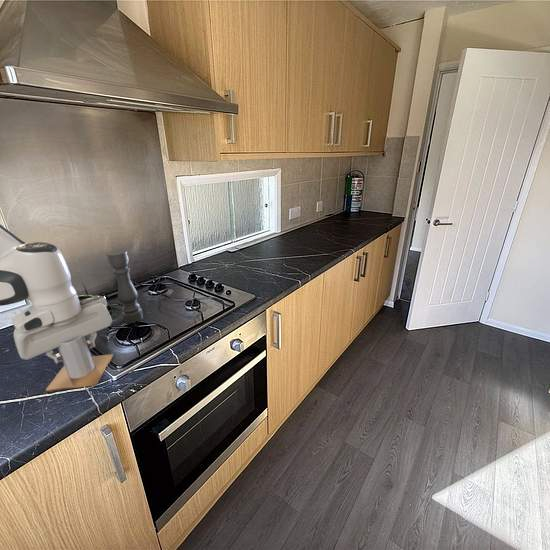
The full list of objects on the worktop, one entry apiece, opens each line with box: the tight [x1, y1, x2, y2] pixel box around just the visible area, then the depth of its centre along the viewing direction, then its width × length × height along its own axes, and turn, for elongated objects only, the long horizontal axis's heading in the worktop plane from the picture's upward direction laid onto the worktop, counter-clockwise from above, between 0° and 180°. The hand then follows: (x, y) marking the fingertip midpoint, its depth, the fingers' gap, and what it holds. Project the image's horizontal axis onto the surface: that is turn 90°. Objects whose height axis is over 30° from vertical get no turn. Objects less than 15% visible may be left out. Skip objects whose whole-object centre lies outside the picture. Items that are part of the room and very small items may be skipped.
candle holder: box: [106, 249, 144, 325], centre depth 99 cm, size 6×6×25 cm
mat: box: [45, 353, 114, 392], centre depth 79 cm, size 12×12×1 cm
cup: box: [56, 335, 95, 379], centre depth 77 cm, size 6×6×11 cm
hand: (75, 354), depth 77 cm, fingers closed on cup, 6 cm apart
